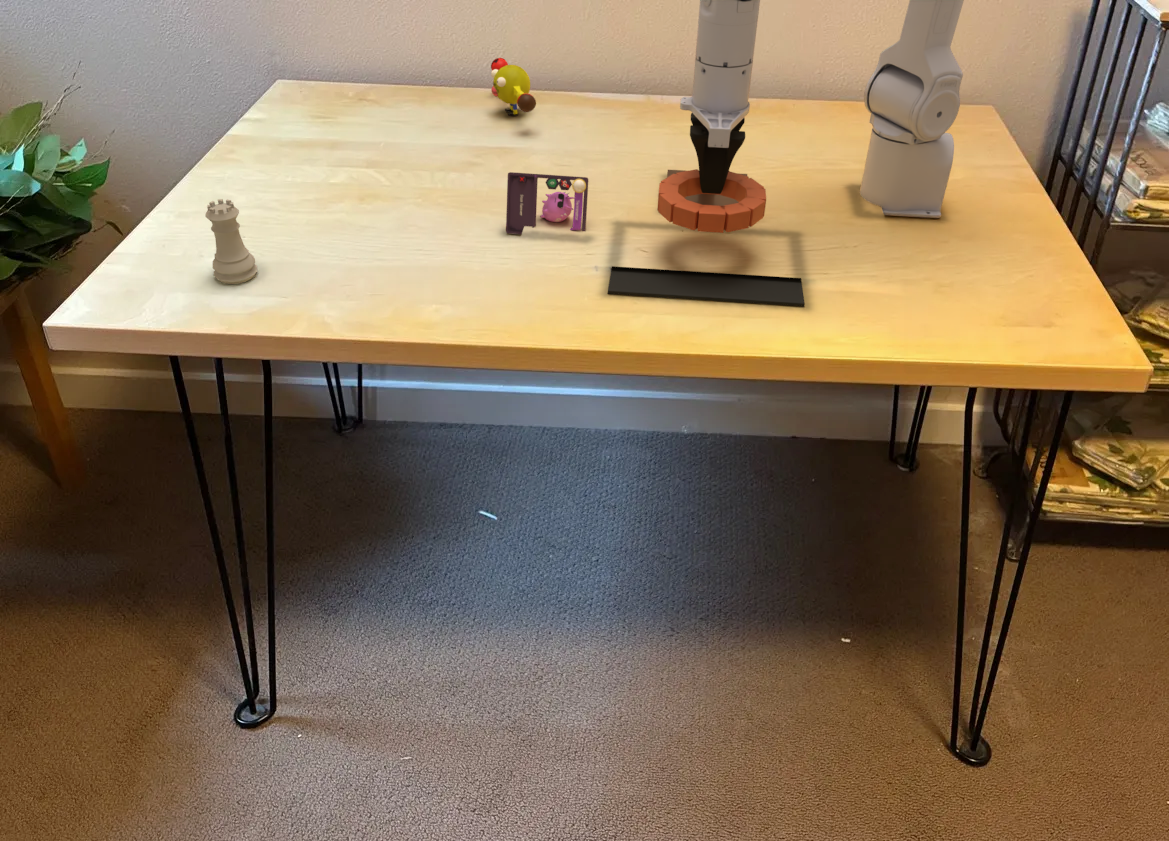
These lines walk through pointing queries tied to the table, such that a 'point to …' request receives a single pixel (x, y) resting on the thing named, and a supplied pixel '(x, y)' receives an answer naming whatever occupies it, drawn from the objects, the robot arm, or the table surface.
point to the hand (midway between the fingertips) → (711, 186)
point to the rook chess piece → (229, 245)
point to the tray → (706, 286)
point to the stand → (707, 195)
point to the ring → (711, 216)
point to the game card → (554, 208)
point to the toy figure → (512, 86)
